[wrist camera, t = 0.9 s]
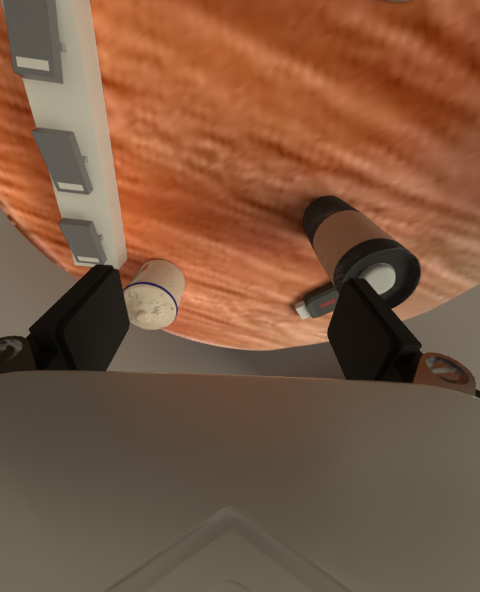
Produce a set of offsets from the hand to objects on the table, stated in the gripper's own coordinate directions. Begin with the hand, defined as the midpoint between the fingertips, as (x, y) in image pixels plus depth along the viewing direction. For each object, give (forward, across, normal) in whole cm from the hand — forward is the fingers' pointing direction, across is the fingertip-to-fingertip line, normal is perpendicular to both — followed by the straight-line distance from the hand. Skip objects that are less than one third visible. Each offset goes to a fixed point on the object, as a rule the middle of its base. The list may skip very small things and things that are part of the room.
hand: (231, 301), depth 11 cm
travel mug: (+32, -15, +5) cm, 36 cm away
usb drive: (+33, -19, +20) cm, 43 cm away
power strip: (+32, +21, -4) cm, 39 cm away
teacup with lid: (+33, +13, +20) cm, 41 cm away
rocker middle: (+27, +21, -1) cm, 35 cm away
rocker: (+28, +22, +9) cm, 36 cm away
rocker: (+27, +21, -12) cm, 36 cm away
